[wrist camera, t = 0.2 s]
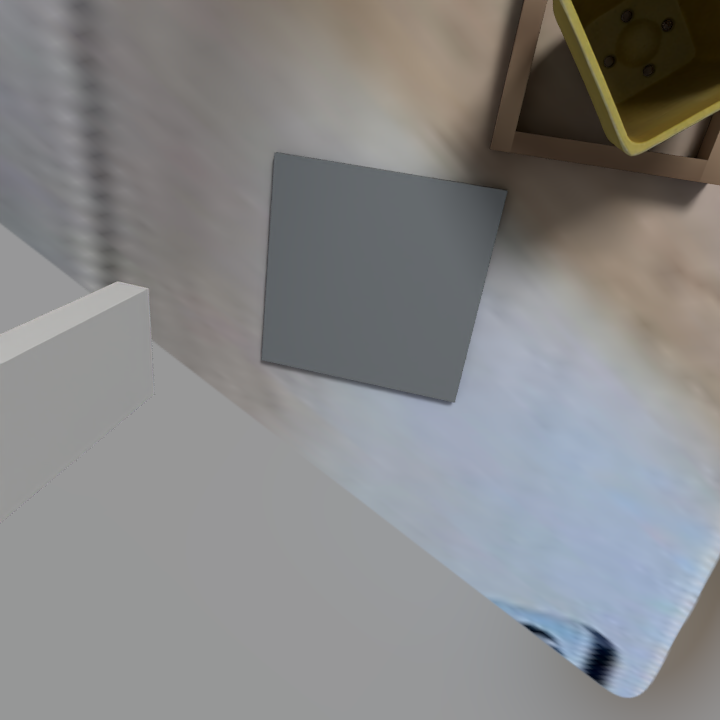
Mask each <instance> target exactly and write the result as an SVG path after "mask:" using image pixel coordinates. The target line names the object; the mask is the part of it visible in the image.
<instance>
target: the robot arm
mask: <svg viewBox="0 0 720 720" xmlns="http://www.w3.org/2000/svg"><path fill="white" fill-rule="evenodd" d="M154 394H155V392H154V374H153V358H152V338H151V320H150V302H149V288H145V287H141V286H136V285H132V284H127V283H123V282H119V281H117V282H115V283H113V284H110V285H108V286H106V287H104V288H101V289H99V290H97V291H95V292H93V293H90V294H89V295H86V296H84V297H82V298H79V299H77V300H75V301H73V302H70V303H68V304H66V305H64V306H61V307H59V308H57V309H55V310H53V311H50V312H48V313H46V314H44V315H42V316H40V317H37V318H35V319H33V320H31V321H28V322H26V323H24V324H22V325H19V326H17V327H15V328H13V329H10V330H8V331H6V332H4V333H1V334H0V523H1V522H2V521H4V520H5V519H6V518H7V517H8V516H10V515H11V514H12V513H13V512H14V511H16V510H17V509H18V508H19V507H20V506H22V505H23V504H24V503H25V502H26V501H28V500H29V499H30V498H31V497H32V496H34V495H35V494H36V493H37V492H38V491H40V490H41V489H42V488H43V487H44V486H46V485H47V484H48V483H49V482H50V481H51V480H53V479H54V478H55V477H56V476H58V475H59V474H60V473H61V472H62V471H63V470H65V468H67V467H68V466H69V465H71V464H72V463H73V462H74V461H75V460H77V459H78V458H79V457H80V456H81V455H82V454H84V453H85V452H86V451H87V450H89V449H90V448H91V447H92V446H93V445H95V444H96V443H97V442H98V441H99V440H101V439H102V438H103V437H104V436H105V435H107V434H108V433H109V432H110V431H111V430H113V429H114V428H115V427H116V426H117V425H119V424H120V423H121V422H122V421H123V420H124V419H126V418H127V417H128V416H129V415H131V414H132V413H133V412H134V411H135V410H137V409H138V408H139V407H140V406H141V405H143V404H144V403H145V402H146V401H147V400H148V399H150V398H151V397H152V396H153V395H154Z"/></svg>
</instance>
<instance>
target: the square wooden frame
mask: <svg viewBox="0 0 720 720" xmlns="http://www.w3.org/2000/svg"><path fill="white" fill-rule="evenodd" d="M546 4H547V0H524V1H523V5H522V10H521V14H520V19H519V23H518V27H517V32H516V36H515V41H514V45H513V49H512V54H511V58H510V62H509V67H508V71H507V76H506V80H505V84H504V89H503V93H502V98H501V102H500V106H499V111H498V115H497V119H496V124H495V128H494V133H493V137H492V141H491V146H490V150H496V151H503V152H509V153H516V154H522V155H529V156H535V157H541V158H548V159H554V160H561V161H567V162H574V163H580V164H586V165H593V166H599V167H606V168H612V169H619V170H625V171H631V172H638V173H644V174H651V175H657V176H664V177H670V178H676V179H683V180H689V181H696V182H702V183H709V184H715V185H720V110H719V111H717V112H715V113H714V114H713V116H712V119H711V122H710V124H709V127H708V129H707V132H706V134H705V137H704V140H703V142H702V145H701V147H700V150H699V152H698V155H697V157H696V158H689V157H683V156H676V155H669V154H663V153H656V152H649V151H645V152H643V153H641V154H639V155H636V156H629V155H627V154H626V153H624V152H623V151H622V150H620V149H619V148H618V147H616V146H609V145H603V144H596V143H589V142H583V141H576V140H569V139H563V138H556V137H549V136H543V135H536V134H529V133H523V132H516V127H517V123H518V119H519V114H520V110H521V106H522V102H523V98H524V94H525V90H526V86H527V82H528V78H529V74H530V69H531V65H532V61H533V57H534V53H535V49H536V45H537V41H538V37H539V33H540V29H541V24H542V20H543V16H544V12H545V8H546Z"/></svg>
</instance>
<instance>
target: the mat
mask: <svg viewBox="0 0 720 720" xmlns="http://www.w3.org/2000/svg"><path fill="white" fill-rule="evenodd" d="M506 195H507V190H503V189H497V188H491V187H485V186H478V185H472V184H466V183H460V182H454V181H448V180H442V179H436V178H430V177H424V176H418V175H412V174H406V173H400V172H394V171H387V170H381V169H375V168H369V167H363V166H357V165H351V164H345V163H339V162H333V161H327V160H321V159H315V158H309V157H303V156H297V155H290V154H284V153H278V152H276V153H275V154H274V170H273V186H272V202H271V218H270V233H269V249H268V265H267V281H266V297H265V313H264V329H263V345H262V360H263V361H268V362H272V363H277V364H281V365H286V366H290V367H295V368H300V369H304V370H309V371H313V372H318V373H322V374H327V375H331V376H336V377H340V378H345V379H350V380H354V381H359V382H363V383H368V384H372V385H377V386H381V387H386V388H390V389H395V390H399V391H404V392H409V393H413V394H418V395H422V396H427V397H431V398H436V399H440V400H445V401H449V402H454V403H455V399H456V395H457V391H458V387H459V383H460V379H461V375H462V371H463V367H464V363H465V359H466V355H467V351H468V347H469V343H470V339H471V335H472V331H473V327H474V323H475V319H476V315H477V311H478V307H479V303H480V299H481V295H482V291H483V287H484V283H485V279H486V275H487V271H488V267H489V263H490V259H491V255H492V251H493V247H494V243H495V239H496V235H497V231H498V227H499V223H500V219H501V215H502V211H503V207H504V203H505V199H506Z"/></svg>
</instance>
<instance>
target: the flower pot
mask: <svg viewBox="0 0 720 720" xmlns="http://www.w3.org/2000/svg"><path fill="white" fill-rule="evenodd" d="M628 10H629V11H631V12H632V18H631V19H630V21H628V22H623V21H622V19H621V15H622V14H623V12H625V11H628ZM553 11H554V15H555V18H556V21H557V23H558V25H559V27H560V29H561V32H562V34H563V36H564V38H565V40H566V43H567V45H568V47H569V49H570V52H571V54H572V56H573V58H574V61H575V63H576V65H577V67H578V70H579V72H580V74H581V77H582V79H583V81H584V84H585V86H586V88H587V91H588V93H589V95H590V98H591V100H592V103H593V105H594V108H595V110H596V112H597V115H598V117H599V120H600V122H601V125H602V127H603V130H604V132H605V134H606V136H607V138H608V139H609V141H610V142H611V143H613V144H614V145H615V146H616V147H618V148H619V149H620V150H622V151H623V152H624V153H626V154H627V155H629V156H636V155H639V154H641V153H643V152H645V151H647V150H649V149H651V148H652V147H654V146H656V145H658V144H660V143H662V142H664V141H665V140H667V139H669V138H671V137H672V136H674V135H676V134H678V133H679V132H681V131H683V130H685V129H686V128H688V127H690V126H692V125H694V124H696V123H697V122H699V121H701V120H703V119H705V118H706V117H708V116H710V115H712V114H714V113H715V112H717V111H719V110H720V0H553ZM666 20H671V21H672V23H673V26H672V28H671V29H670V30H669V31H663V29H662V24H663V22H664V21H666ZM608 56H612V57H613V58H614V63H613V65H612V66H610V67H606V66H605V65H604V60H605V58H606V57H608ZM647 65H652V66H653V68H654V71H653V73H652V74H651V75H649V76H645V75H644V74H643V70H644V68H645V67H646V66H647Z"/></svg>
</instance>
